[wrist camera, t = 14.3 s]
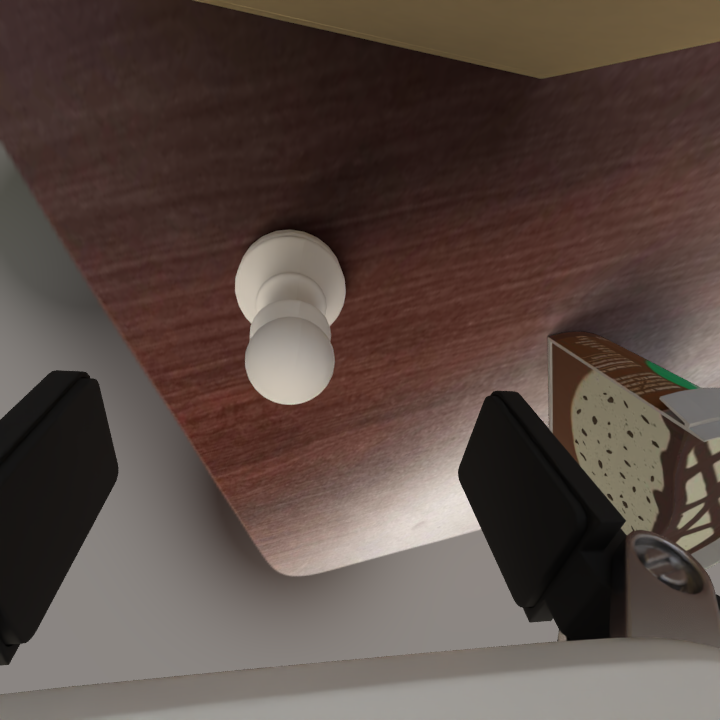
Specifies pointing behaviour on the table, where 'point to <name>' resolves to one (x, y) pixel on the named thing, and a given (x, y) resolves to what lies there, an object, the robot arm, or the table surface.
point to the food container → (640, 438)
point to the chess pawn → (290, 314)
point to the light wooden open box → (510, 28)
